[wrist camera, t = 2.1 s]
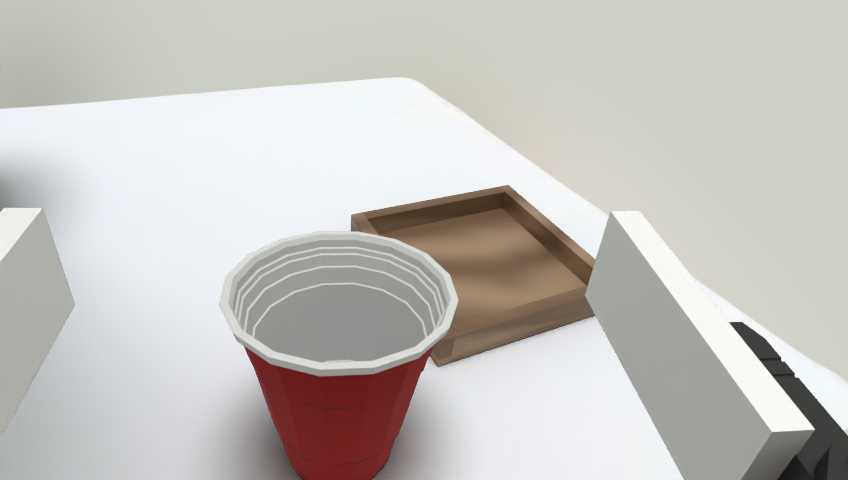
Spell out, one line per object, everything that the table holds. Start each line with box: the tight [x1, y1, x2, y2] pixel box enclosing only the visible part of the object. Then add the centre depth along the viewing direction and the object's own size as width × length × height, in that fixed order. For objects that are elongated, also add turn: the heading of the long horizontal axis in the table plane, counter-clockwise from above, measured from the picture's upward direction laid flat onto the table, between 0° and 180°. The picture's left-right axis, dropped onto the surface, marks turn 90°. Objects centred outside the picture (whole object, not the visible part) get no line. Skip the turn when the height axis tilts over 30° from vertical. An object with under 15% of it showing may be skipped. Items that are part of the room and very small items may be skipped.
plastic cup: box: [219, 231, 458, 480], centre depth 30 cm, size 11×11×12 cm
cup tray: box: [351, 185, 596, 366], centre depth 47 cm, size 16×16×2 cm
